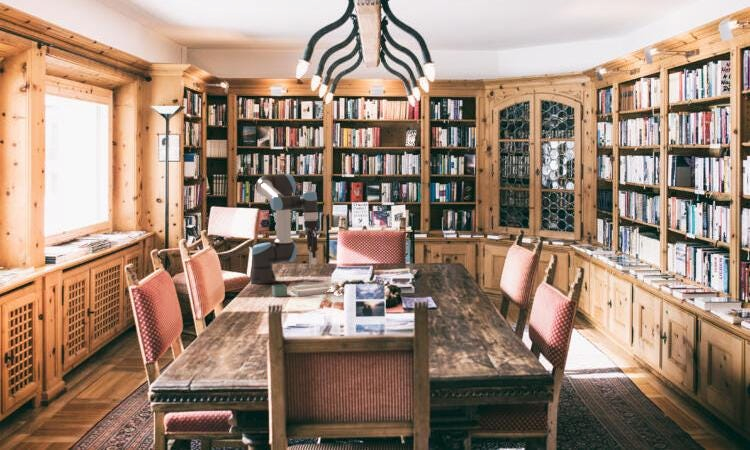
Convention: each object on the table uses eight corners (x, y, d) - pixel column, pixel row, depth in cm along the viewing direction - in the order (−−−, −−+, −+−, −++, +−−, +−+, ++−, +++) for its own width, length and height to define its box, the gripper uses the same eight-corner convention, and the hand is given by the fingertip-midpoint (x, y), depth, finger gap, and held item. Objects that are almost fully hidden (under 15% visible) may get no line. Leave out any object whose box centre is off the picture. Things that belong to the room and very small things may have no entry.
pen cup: (272, 294, 370) (271, 285, 370) (284, 293, 372) (283, 284, 372) (275, 296, 364) (274, 287, 363) (287, 295, 366) (286, 286, 366)
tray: (290, 291, 377) (290, 287, 377) (329, 287, 385) (328, 283, 385) (298, 296, 363) (298, 291, 362) (338, 291, 371) (337, 287, 370)
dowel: (310, 276, 374) (309, 246, 373) (315, 275, 375) (314, 246, 374) (311, 276, 371) (310, 247, 370) (316, 276, 372) (315, 246, 371)
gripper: (300, 219, 377) (302, 262, 379) (308, 221, 362) (310, 265, 364) (313, 219, 379) (315, 261, 381) (321, 220, 365) (324, 264, 367)
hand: (313, 263), depth 373 cm, fingers closed on dowel, 3 cm apart
